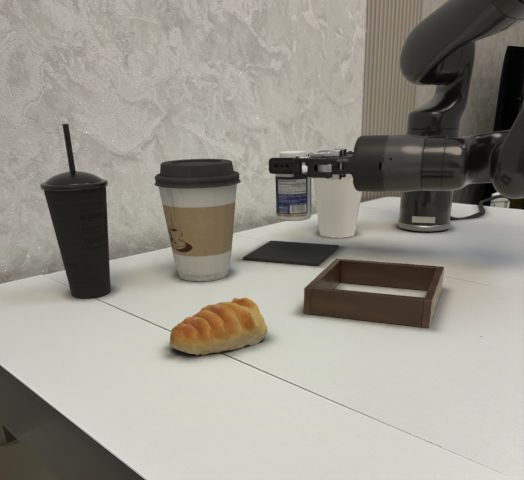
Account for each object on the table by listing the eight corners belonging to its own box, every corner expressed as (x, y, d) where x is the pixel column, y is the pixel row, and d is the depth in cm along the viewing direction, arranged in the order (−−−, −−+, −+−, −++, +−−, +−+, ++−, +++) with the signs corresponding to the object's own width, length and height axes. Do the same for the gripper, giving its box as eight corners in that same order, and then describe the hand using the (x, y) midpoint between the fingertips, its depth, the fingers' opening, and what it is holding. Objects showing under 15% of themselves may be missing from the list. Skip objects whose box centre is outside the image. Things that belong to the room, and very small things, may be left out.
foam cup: (316, 227, 104) (318, 155, 99) (365, 229, 102) (369, 155, 97) (306, 238, 96) (307, 160, 91) (359, 240, 94) (363, 160, 89)
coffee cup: (146, 275, 77) (134, 163, 71) (207, 259, 84) (200, 156, 78) (200, 291, 69) (191, 167, 63) (261, 272, 77) (258, 160, 71)
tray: (335, 280, 73) (336, 258, 72) (441, 289, 68) (444, 266, 67) (303, 313, 61) (304, 288, 60) (429, 328, 57) (432, 300, 55)
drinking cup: (102, 280, 75) (80, 122, 67) (133, 291, 70) (112, 122, 62) (49, 293, 70) (18, 125, 62) (77, 306, 65) (47, 125, 57)
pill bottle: (286, 214, 88) (285, 150, 84) (317, 216, 85) (317, 150, 81) (269, 220, 83) (268, 152, 80) (301, 222, 81) (301, 152, 77)
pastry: (193, 367, 49) (189, 327, 48) (156, 345, 54) (152, 308, 53) (273, 340, 55) (272, 303, 53) (233, 322, 59) (232, 288, 58)
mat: (271, 242, 94) (270, 240, 94) (339, 247, 90) (339, 245, 90) (242, 259, 84) (242, 257, 84) (318, 266, 80) (318, 263, 79)
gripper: (400, 132, 81) (291, 134, 87) (382, 137, 68) (257, 139, 74) (397, 185, 84) (292, 184, 90) (379, 199, 71) (259, 196, 77)
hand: (277, 163), depth 82 cm, fingers closed on pill bottle, 5 cm apart
